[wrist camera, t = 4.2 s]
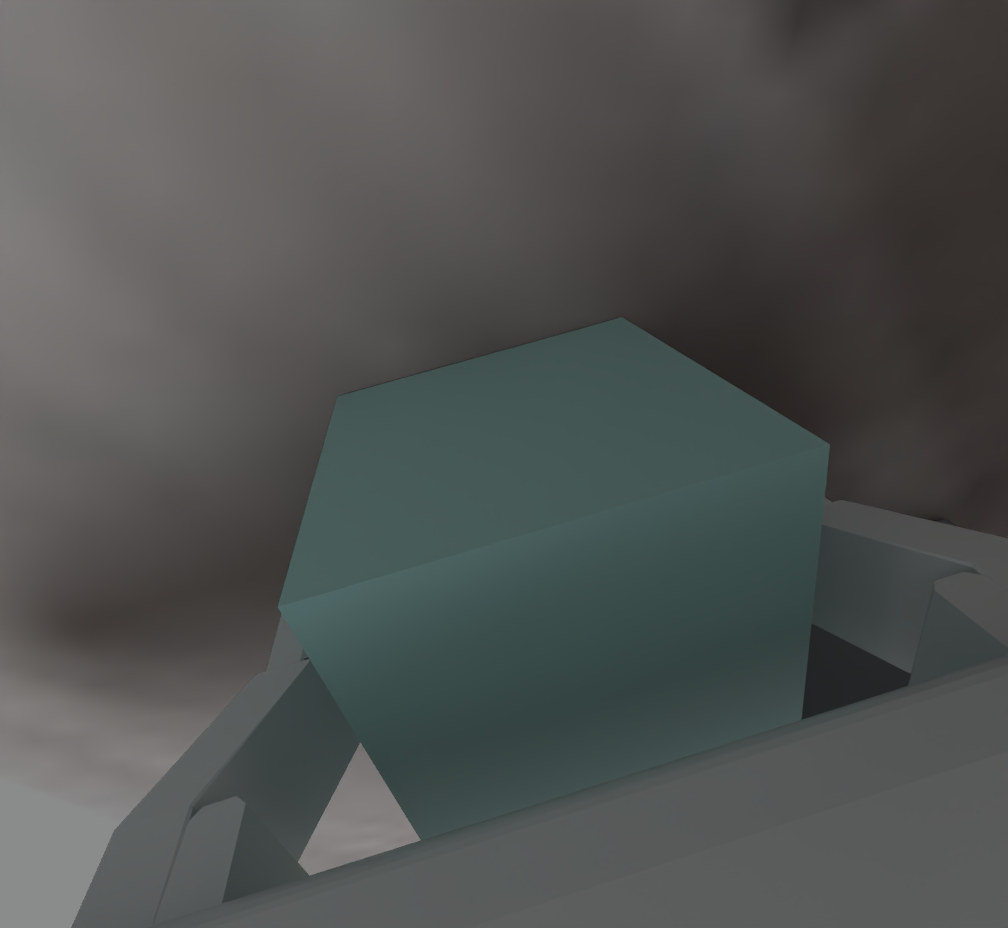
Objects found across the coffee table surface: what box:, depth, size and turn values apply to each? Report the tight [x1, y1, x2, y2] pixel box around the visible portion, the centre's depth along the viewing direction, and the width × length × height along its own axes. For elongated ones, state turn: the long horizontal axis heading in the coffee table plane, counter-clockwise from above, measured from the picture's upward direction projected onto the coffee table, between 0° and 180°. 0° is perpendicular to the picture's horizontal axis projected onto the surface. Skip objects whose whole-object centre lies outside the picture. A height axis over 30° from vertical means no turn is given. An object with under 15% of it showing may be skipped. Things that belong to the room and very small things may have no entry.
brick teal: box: [278, 317, 830, 840], centre depth 8 cm, size 6×5×5 cm
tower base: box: [801, 519, 958, 720], centre depth 12 cm, size 8×8×5 cm
